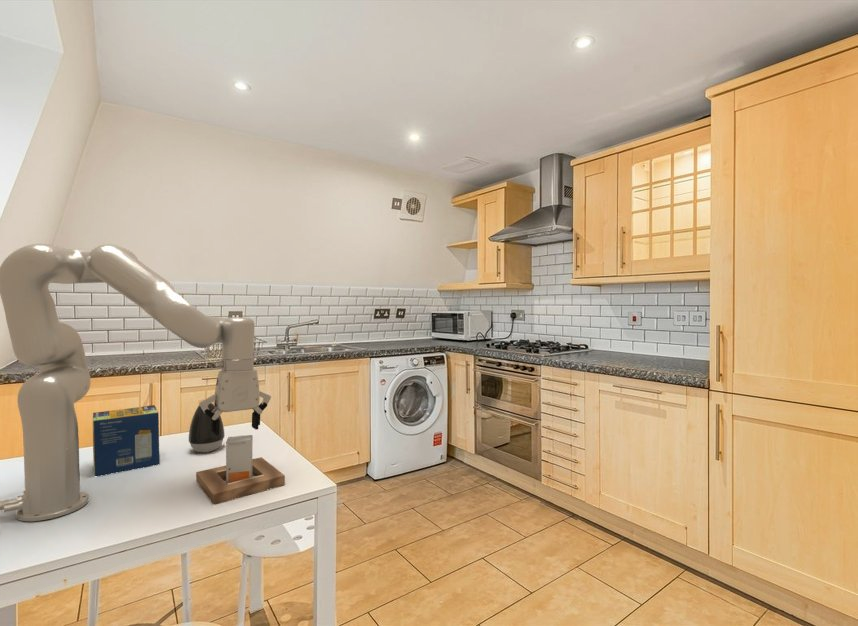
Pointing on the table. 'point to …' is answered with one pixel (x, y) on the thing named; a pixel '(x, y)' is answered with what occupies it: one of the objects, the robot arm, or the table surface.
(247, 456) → the skincare box
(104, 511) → the table surface
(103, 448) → the protein box
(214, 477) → the wooden square frame
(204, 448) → the pump dispenser
